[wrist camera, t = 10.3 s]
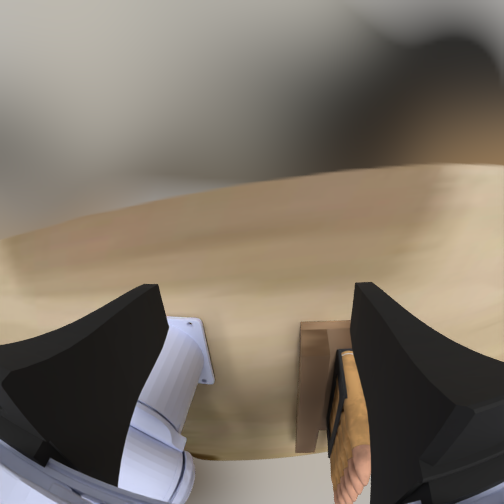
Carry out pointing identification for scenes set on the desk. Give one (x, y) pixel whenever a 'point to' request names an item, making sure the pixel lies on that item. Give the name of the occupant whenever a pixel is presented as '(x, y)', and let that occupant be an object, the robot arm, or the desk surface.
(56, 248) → the desk surface
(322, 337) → the walnut rack
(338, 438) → the ammunition clip
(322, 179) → the desk surface
